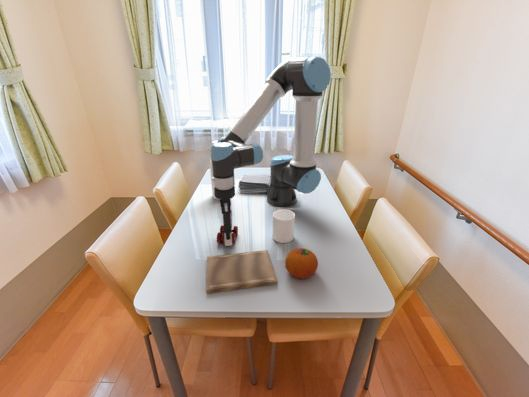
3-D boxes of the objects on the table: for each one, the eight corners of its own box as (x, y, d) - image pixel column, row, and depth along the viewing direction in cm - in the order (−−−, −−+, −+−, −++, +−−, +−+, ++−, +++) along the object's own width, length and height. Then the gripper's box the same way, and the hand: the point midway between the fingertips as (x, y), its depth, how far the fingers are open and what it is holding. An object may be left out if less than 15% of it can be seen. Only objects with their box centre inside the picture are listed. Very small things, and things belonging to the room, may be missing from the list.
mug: (292, 227, 114) (293, 205, 109) (294, 244, 103) (295, 220, 99) (272, 227, 114) (273, 205, 110) (272, 243, 104) (272, 219, 99)
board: (267, 253, 98) (267, 249, 97) (277, 284, 84) (277, 280, 83) (207, 260, 95) (207, 256, 94) (206, 293, 80) (206, 289, 80)
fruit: (294, 287, 83) (295, 267, 79) (279, 267, 91) (280, 248, 88) (323, 278, 87) (325, 258, 83) (306, 259, 95) (307, 240, 92)
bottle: (230, 198, 140) (227, 142, 126) (216, 202, 136) (211, 144, 122) (223, 193, 145) (219, 138, 132) (210, 196, 142) (204, 141, 128)
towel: (270, 196, 143) (270, 183, 139) (237, 195, 144) (236, 181, 141) (272, 185, 156) (272, 173, 153) (241, 184, 158) (241, 171, 154)
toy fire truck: (215, 247, 101) (213, 224, 97) (222, 229, 112) (221, 208, 108) (233, 248, 101) (232, 225, 96) (239, 230, 112) (238, 209, 107)
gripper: (213, 174, 107) (217, 220, 116) (214, 201, 85) (218, 255, 94) (232, 173, 108) (234, 219, 117) (237, 199, 86) (239, 253, 96)
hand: (227, 235), depth 106 cm, fingers closed on toy fire truck, 12 cm apart
